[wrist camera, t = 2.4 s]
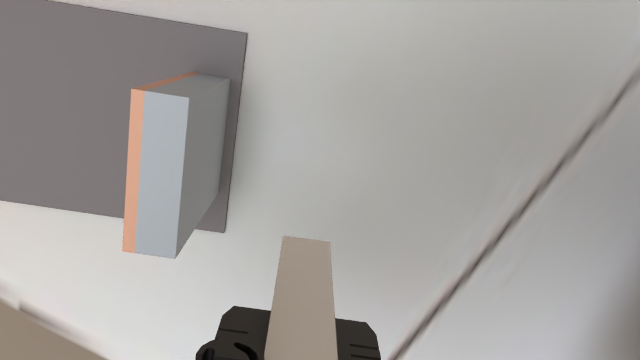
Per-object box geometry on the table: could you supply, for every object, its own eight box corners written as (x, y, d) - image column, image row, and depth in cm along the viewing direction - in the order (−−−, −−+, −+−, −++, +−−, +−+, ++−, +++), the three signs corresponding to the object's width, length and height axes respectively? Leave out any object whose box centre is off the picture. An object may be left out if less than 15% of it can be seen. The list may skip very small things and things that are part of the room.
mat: (247, 33, 33) (246, 33, 32) (224, 230, 37) (223, 233, 36) (-98, -24, 32) (-103, -24, 32) (-84, 185, 36) (-89, 187, 35)
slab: (230, 78, 33) (189, 97, 23) (218, 192, 35) (175, 258, 25) (191, 71, 33) (131, 88, 23) (181, 186, 35) (122, 251, 25)
